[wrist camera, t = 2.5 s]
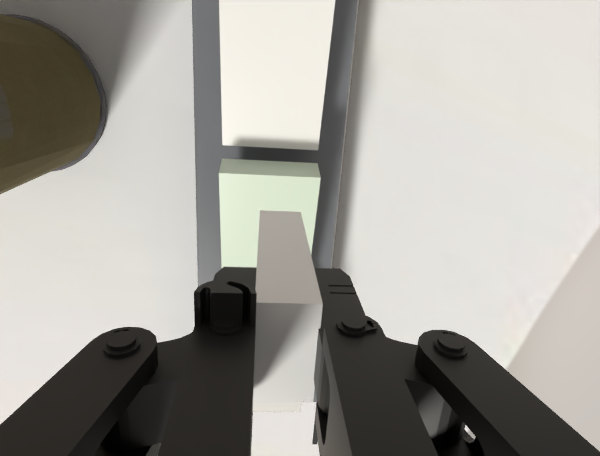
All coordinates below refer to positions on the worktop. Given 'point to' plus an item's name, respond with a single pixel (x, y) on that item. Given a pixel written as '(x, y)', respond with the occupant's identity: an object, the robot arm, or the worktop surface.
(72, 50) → the canister
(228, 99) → the block
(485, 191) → the worktop surface
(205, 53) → the rocker switch panel
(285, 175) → the rocker mid
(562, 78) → the worktop surface
